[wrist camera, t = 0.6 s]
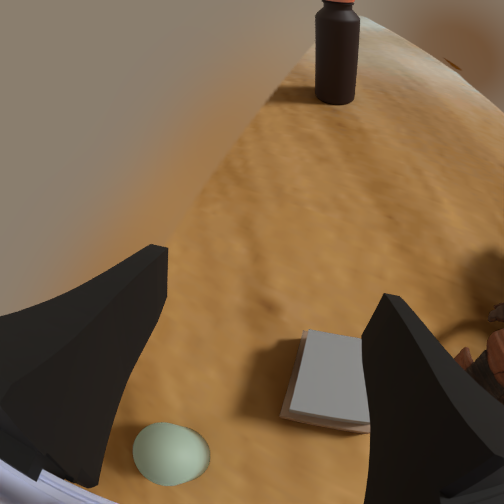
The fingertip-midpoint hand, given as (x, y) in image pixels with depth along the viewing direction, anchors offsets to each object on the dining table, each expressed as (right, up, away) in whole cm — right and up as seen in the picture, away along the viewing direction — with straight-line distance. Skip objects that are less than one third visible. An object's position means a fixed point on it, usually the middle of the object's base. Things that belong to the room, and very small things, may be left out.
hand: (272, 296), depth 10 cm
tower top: (+6, -8, +12) cm, 15 cm away
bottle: (+13, +28, +38) cm, 49 cm away
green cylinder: (-6, -15, +11) cm, 19 cm away
